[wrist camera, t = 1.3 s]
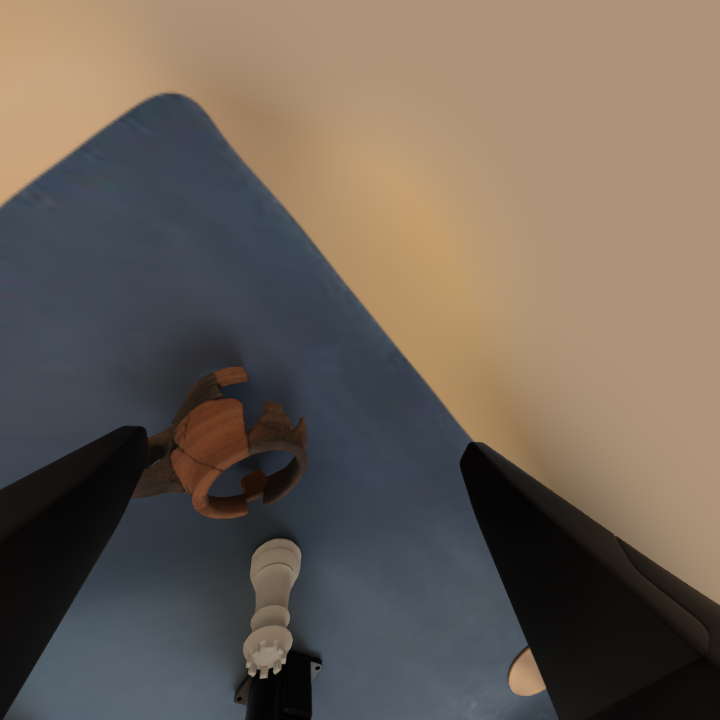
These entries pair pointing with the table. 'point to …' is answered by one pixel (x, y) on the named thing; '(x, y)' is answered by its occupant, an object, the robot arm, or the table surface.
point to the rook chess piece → (271, 605)
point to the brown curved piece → (221, 449)
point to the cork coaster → (525, 675)
